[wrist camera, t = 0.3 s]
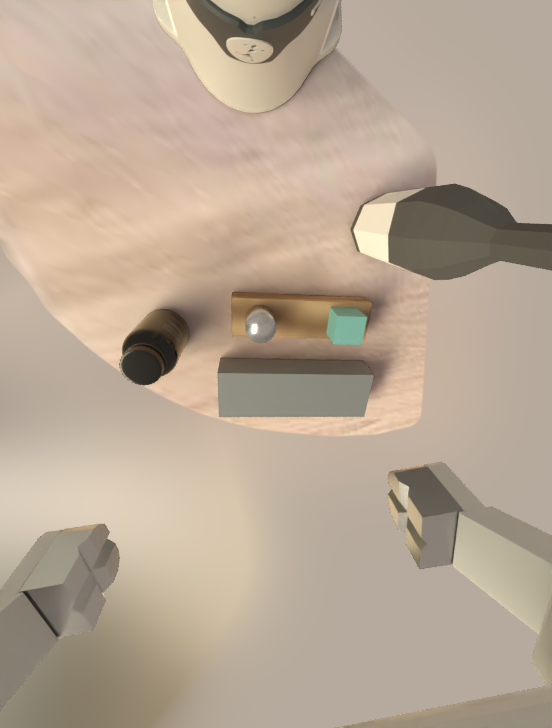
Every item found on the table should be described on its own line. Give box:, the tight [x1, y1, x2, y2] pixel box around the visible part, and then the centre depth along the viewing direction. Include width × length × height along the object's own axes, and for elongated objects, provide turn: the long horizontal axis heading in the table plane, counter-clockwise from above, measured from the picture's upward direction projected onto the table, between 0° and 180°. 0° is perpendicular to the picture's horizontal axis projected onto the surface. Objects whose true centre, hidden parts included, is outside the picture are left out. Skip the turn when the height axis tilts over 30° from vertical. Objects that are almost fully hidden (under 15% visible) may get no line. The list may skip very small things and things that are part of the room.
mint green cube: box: [326, 307, 367, 345], centre depth 41 cm, size 4×4×4 cm
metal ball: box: [245, 305, 276, 343], centre depth 40 cm, size 4×4×4 cm
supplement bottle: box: [119, 310, 189, 385], centre depth 39 cm, size 7×7×12 cm
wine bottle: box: [351, 184, 552, 280], centre depth 27 cm, size 8×8×30 cm
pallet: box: [231, 292, 372, 340], centre depth 44 cm, size 6×20×4 cm, turn 86°
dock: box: [218, 358, 374, 417], centre depth 48 cm, size 8×24×5 cm, turn 86°
